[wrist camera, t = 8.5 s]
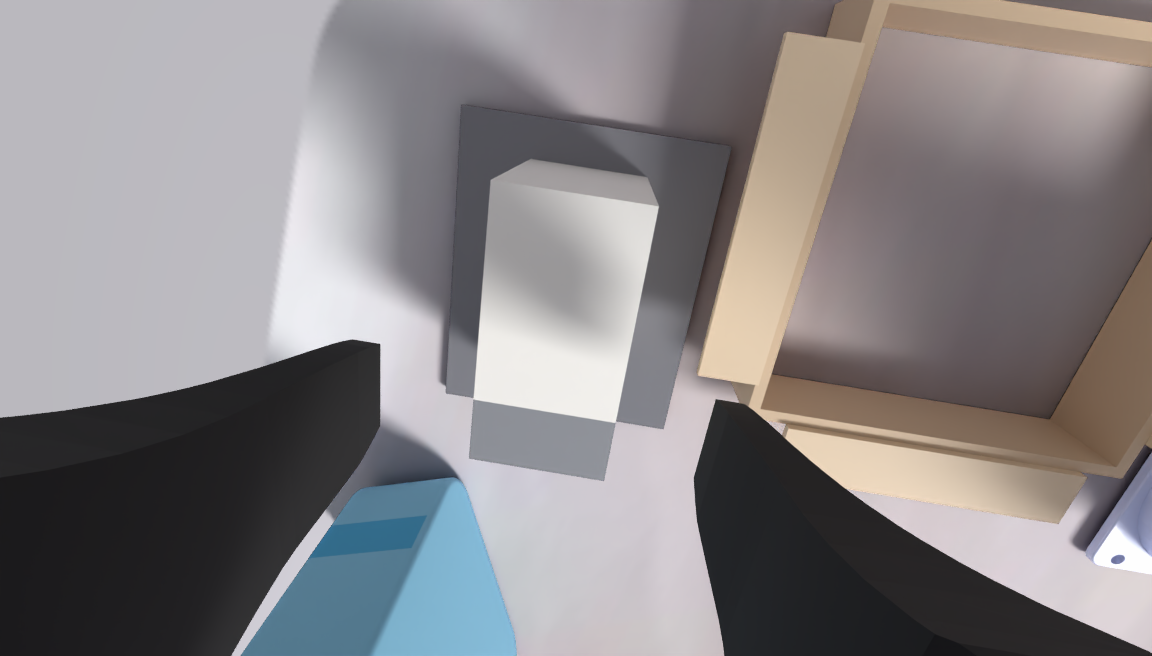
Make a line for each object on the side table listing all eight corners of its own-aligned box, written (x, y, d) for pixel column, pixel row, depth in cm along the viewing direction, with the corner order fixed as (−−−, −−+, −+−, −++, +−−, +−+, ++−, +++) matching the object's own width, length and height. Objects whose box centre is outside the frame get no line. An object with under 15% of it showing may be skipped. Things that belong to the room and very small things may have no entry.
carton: (1332, 78, 16) (1501, 70, 13) (1081, 479, 22) (1156, 540, 18) (769, -6, 16) (803, -33, 13) (668, 411, 22) (675, 460, 19)
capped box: (647, 176, 18) (658, 206, 12) (608, 383, 21) (603, 481, 16) (530, 158, 18) (490, 180, 13) (508, 367, 21) (468, 458, 16)
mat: (729, 145, 18) (731, 146, 17) (662, 423, 22) (663, 429, 22) (464, 104, 18) (461, 104, 18) (448, 388, 22) (445, 393, 22)
